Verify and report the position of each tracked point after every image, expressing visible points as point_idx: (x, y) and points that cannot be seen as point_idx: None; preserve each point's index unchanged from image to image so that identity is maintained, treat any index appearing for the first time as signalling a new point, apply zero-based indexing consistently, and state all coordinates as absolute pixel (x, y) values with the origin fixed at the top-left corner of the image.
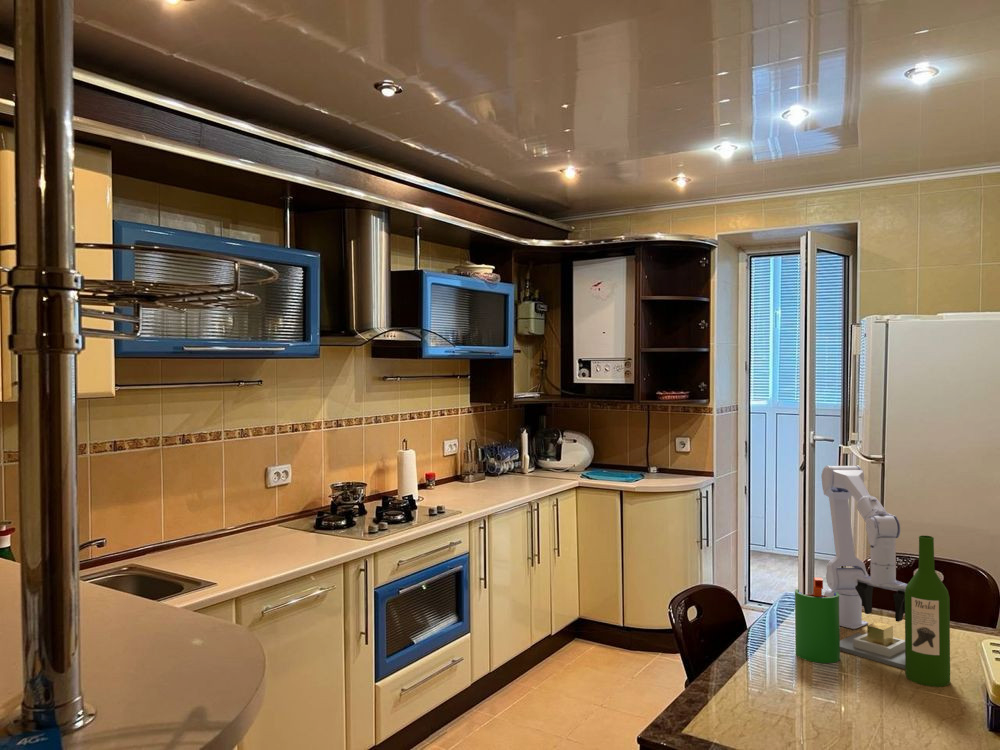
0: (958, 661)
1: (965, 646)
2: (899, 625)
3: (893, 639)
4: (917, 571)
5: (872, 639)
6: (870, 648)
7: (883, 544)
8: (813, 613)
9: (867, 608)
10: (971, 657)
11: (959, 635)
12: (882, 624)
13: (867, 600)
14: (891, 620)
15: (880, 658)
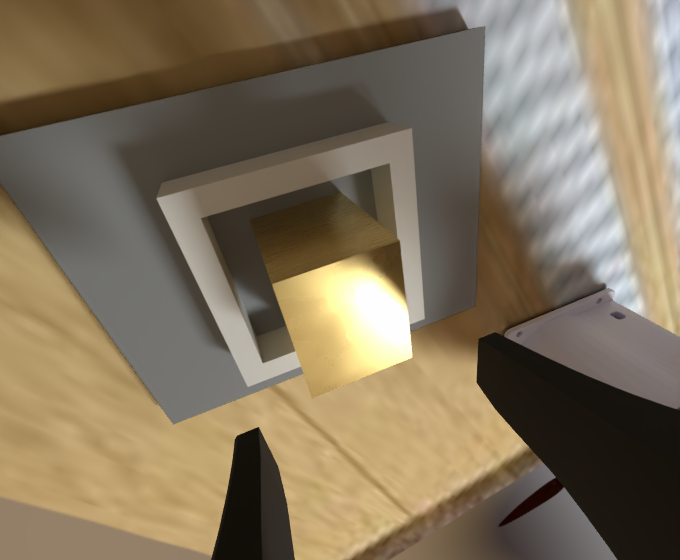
0: (69, 467)
1: (215, 541)
2: (435, 466)
3: None
4: None
5: (329, 218)
6: (290, 153)
7: None
8: None
9: (513, 370)
10: (104, 521)
11: (297, 557)
12: (360, 355)
13: (577, 433)
14: (468, 467)
15: (161, 100)
